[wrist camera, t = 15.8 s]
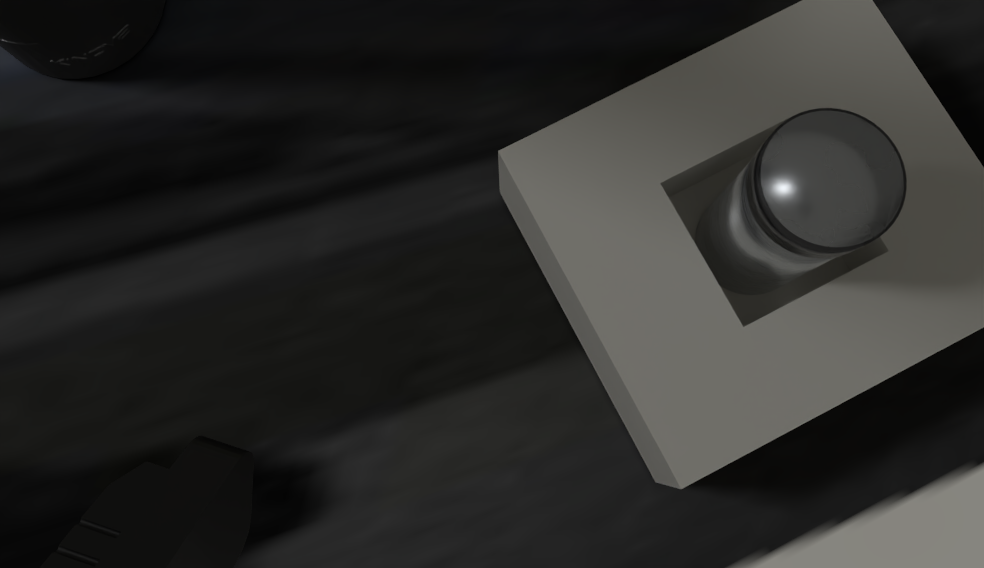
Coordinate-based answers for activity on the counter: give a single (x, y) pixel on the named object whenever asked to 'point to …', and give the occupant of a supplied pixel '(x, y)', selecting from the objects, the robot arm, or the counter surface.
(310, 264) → the counter surface
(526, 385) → the counter surface
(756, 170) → the lens
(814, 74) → the grey block with recess
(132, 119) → the counter surface
